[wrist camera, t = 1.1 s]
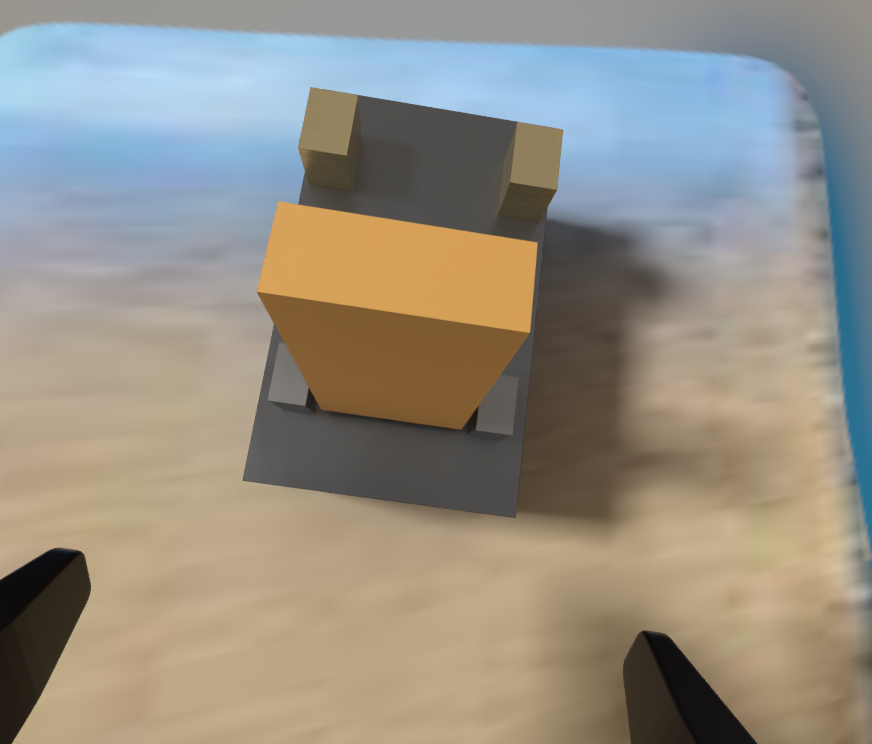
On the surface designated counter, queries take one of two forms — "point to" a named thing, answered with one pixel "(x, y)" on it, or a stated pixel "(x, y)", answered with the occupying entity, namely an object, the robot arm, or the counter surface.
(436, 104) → the counter surface
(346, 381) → the tan rectangular box
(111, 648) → the counter surface
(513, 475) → the grey block with pegs
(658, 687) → the robot arm
